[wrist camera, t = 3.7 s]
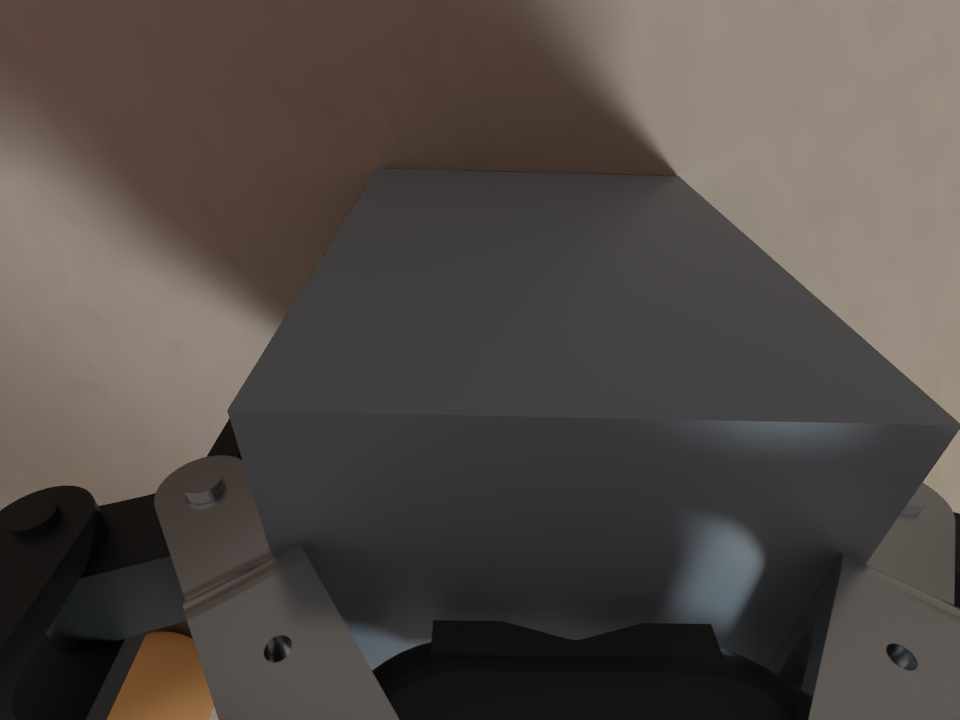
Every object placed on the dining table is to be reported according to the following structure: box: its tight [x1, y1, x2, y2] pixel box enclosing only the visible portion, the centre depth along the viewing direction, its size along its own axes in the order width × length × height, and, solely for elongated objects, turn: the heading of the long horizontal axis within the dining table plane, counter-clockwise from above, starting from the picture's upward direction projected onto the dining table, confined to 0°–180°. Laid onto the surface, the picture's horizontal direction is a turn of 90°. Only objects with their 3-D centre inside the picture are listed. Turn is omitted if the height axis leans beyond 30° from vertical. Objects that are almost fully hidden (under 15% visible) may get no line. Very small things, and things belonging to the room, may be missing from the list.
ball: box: [107, 632, 214, 720], centre depth 22 cm, size 5×5×5 cm
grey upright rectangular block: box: [227, 168, 960, 670], centre depth 11 cm, size 7×7×9 cm
